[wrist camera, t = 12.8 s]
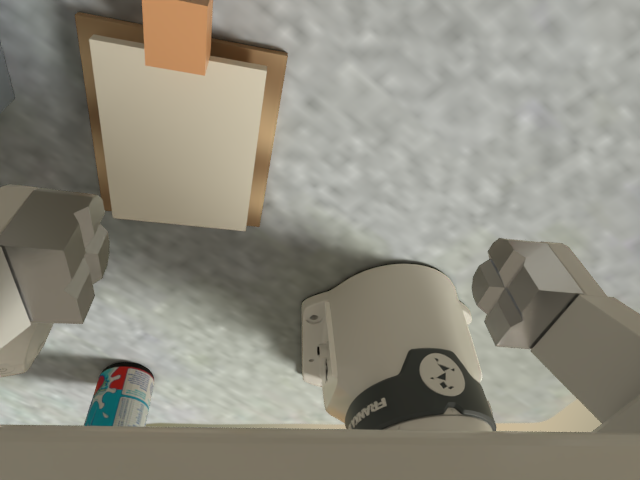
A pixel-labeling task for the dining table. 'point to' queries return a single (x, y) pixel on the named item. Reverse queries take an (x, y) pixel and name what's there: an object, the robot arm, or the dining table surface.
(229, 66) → the lid
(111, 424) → the beverage can
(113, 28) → the mat
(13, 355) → the photo printer
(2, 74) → the tub
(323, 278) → the dining table surface
